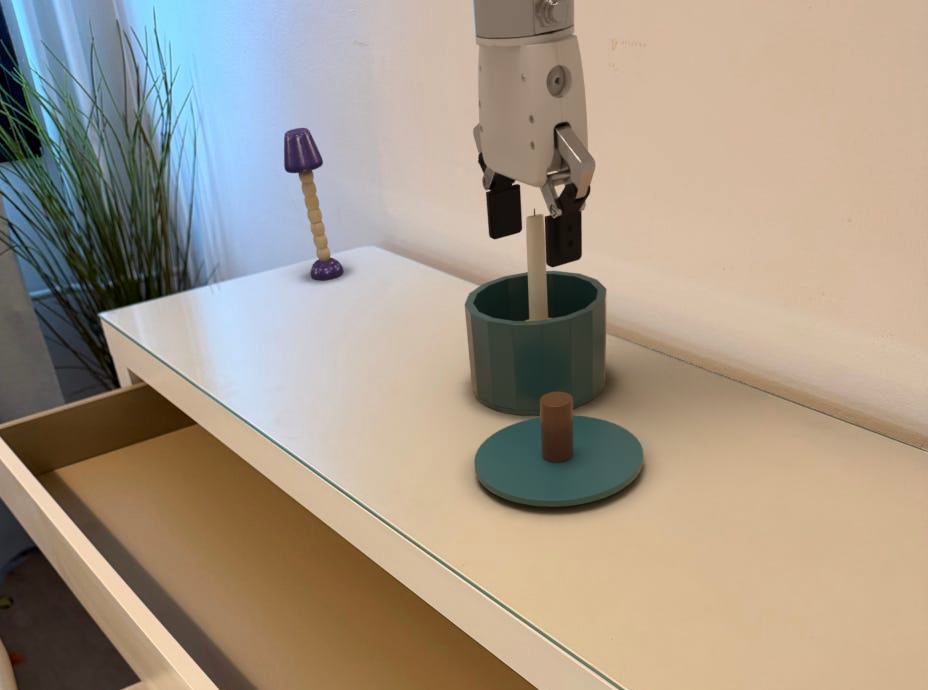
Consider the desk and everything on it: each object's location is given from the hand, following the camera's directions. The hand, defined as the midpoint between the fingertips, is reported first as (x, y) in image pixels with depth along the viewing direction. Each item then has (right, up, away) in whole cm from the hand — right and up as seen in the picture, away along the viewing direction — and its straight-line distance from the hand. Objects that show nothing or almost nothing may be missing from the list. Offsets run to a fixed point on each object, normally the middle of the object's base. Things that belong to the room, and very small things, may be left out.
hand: (533, 248), depth 81 cm
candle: (+1, -10, +8) cm, 12 cm away
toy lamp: (-23, +13, +38) cm, 47 cm away
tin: (+1, -10, +8) cm, 13 cm away
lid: (+2, -19, -4) cm, 20 cm away
